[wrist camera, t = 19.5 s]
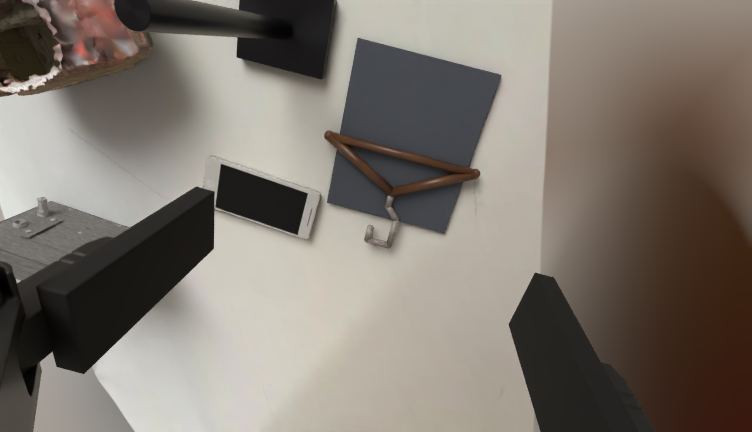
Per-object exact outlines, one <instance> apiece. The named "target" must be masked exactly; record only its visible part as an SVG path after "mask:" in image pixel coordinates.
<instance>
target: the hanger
mask: <svg viewBox="0 0 752 432" xmlns="http://www.w3.org/2000/svg"><path fill="white" fill-rule="evenodd" d="M324 137H325V139H326V140H327V141H328V142H329V143H330V144H332V145H333V146H334V147H335V148H336V149H337V150H338V151H339V152H340V153H342V154H343V155H344V156H345V157H346V158H347V159H348V160H349V161H350V162H352V163H353V164H354V165H355V166H356V167H357V168H358V169H359V170H360V171H361V172H363V173H364V174H365V175H366V176H367V177H368V178H369V179H370V180H371V181H373V182H374V183H375V184H376V185H377V186H378V187H379V188H380V189H381V190H383V191H384V192H385V193H386V194H387V195H388V196H387V200H386V204H385V208H386V210H387V211H388V213H389V215H390V216H391V218H392V219H393V222H392V226H391V229H390V233H389V236H388V240H387V242H386V241H382V240H378V239H375V238H371V236H372V232H373V226H372V225H369V226H368V227H367V231H366V235H365V239H364V240H365V242H366V243H370V244H374V245H378V246H382V247H385V248H391V247H392V244H393V241H394V237H395V234H396V230H397V227H398V224H399V217H398V216H397V214H396V212H395V211H394V209H393V208H392V202H393V198H394V197H396V196H400V195H405V194H409V193H414V192H418V191H423V190H428V189H432V188H437V187H441V186H446V185H450V184H455V183H459V182H464V181H468V180H473V179H477V178H479V176H480V171H479V170H478V169H471V168H467V167H464V166H460V165H456V164H452V163H448V162H445V161H441V160H437V159H433V158H429V157H425V156H422V155H418V154H414V153H410V152H406V151H402V150H399V149H395V148H391V147H387V146H383V145H380V144H376V143H372V142H368V141H364V140H360V139H357V138H353V137H349V136H345V135H341V134H337V133H334V132H332V131H326V132H325V134H324ZM348 145H350V146H354V147H357V148H361V149H365V150H369V151H373V152H377V153H380V154H384V155H388V156H392V157H396V158H399V159H403V160H407V161H411V162H415V163H419V164H422V165H426V166H430V167H434V168H438V169H441V170H445V171H449V172H453V173H454V174H450V175H445V176H441V177H436V178H432V179H427V180H423V181H419V182H414V183H410V184H405V185H401V186H397V187H392V186H391V185H390V184H389V183H388V182H387V181H386V180H385V179H384V178H383V177H381V176H380V175H379V174H378V173H377V172H376V171H375V170H374V169H373V168H372V167H371V166H369V165H368V164H367V163H366V162H365V161H364V160H363V159H362V158H361V157H360V156H358V155H357V154H356V153H355V152H354V151H353V150H352V149H351V148H350V147H349V146H348Z"/></svg>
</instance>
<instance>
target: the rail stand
mask: <svg viewBox="0 0 752 432" xmlns="http://www.w3.org/2000/svg"><path fill="white" fill-rule="evenodd" d="M336 2H337V0H240V2H239V10H237V9H232V8H227V7H222V6H217V5H212V4H207V3H202V2H198V1H193V0H114V7H115V11H116V14H117V16H118V18H119V20H120V21H121V22H122V24H123V25H124V26H126V27H127V28H128V29H130V30H132V31H136V32H153V33H171V34H189V35H207V36H225V37H238V40H237V58H241V59H245V60H249V61H253V62H257V63H260V64H264V65H268V66H272V67H276V68H280V69H284V70H287V71H291V72H295V73H299V74H303V75H307V76H311V77H314V78H318V79H324V78H325V72H326V66H327V59H328V53H329V47H330V40H331V34H332V27H333V21H334V15H335V8H336Z"/></svg>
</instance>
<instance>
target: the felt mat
mask: <svg viewBox="0 0 752 432" xmlns="http://www.w3.org/2000/svg"><path fill="white" fill-rule="evenodd" d="M500 78H501V75H499V74H495V73H492V72H488V71H484V70H480V69H476V68H472V67H468V66H464V65H461V64H457V63H453V62H449V61H445V60H441V59H437V58H433V57H430V56H426V55H422V54H418V53H414V52H410V51H406V50H402V49H399V48H395V47H391V46H387V45H383V44H379V43H375V42H371V41H368V40H364V39H360V38H358V39H357V45H356V50H355V56H354V61H353V66H352V72H351V77H350V82H349V88H348V93H347V98H346V104H345V109H344V115H343V120H342V125H341V131H340V134H341V135H345V136H349V137H353V138H357V139H360V140H364V141H368V142H372V143H376V144H380V145H383V146H387V147H391V148H395V149H399V150H402V151H406V152H410V153H414V154H418V155H422V156H425V157H429V158H433V159H437V160H441V161H445V162H448V163H452V164H456V165H460V166H464V167H467V168H468V166H469V164H470V161H471V158H472V155H473V153H474V150H475V147H476V144H477V142H478V139H479V136H480V133H481V131H482V128H483V125H484V122H485V119H486V117H487V114H488V111H489V108H490V106H491V103H492V100H493V97H494V95H495V92H496V89H497V86H498V83H499V81H500ZM348 146H349V147H350V148H351V149H352V150H353V151H354V152H355V153H356V154H357V155H358V156H360V157H361V158H362V159H363V160H364V161H365V162H366V163H367V164H368V165H369V166H371V167H372V168H373V169H374V170H375V171H376V172H377V173H378V174H379V175H380V176H381V177H383V178H384V179H385V180H386V181H387V182H388V183H389V184H390V185H391V186H392V187H397V186H401V185H405V184H410V183H414V182H419V181H423V180H427V179H432V178H436V177H441V176H445V175H450V174H454V173H453V172H449V171H445V170H441V169H438V168H434V167H430V166H426V165H422V164H419V163H415V162H411V161H407V160H403V159H399V158H396V157H392V156H388V155H384V154H380V153H377V152H373V151H369V150H365V149H361V148H357V147H354V146H350V145H348ZM462 183H463V182H459V183H455V184H450V185H446V186H441V187H437V188H432V189H428V190H423V191H418V192H414V193H409V194H405V195H400V196H396V197H394V198H393V202H392V208H393V209H394V211H395V212H396V214H397V216H398V217H399V221H400V222H403V223H407V224H411V225H415V226H419V227H423V228H426V229H430V230H434V231H438V232H442V233H445V230H446V227H447V225H448V222H449V219H450V216H451V213H452V211H453V208H454V205H455V202H456V200H457V197H458V194H459V191H460V189H461V186H462ZM387 196H388V195H387V194H386V193H385V192H384V191H383V190H381V189H380V188H379V187H378V186H377V185H376V184H375V183H374V182H373V181H371V180H370V179H369V178H368V177H367V176H366V175H365V174H364V173H363V172H361V171H360V170H359V169H358V168H357V167H356V166H355V165H354V164H353V163H352V162H350V161H349V160H348V159H347V158H346V157H345V156H344V155H343V154H342V153H340V152H339V151H338V150H337V152H336V157H335V163H334V168H333V174H332V179H331V184H330V190H329V195H328V200H327V203H331V204H335V205H339V206H342V207H346V208H350V209H354V210H358V211H362V212H365V213H369V214H373V215H377V216H381V217H384V218H388V219H392V218H391V216H390V215H389V213H388V211H387V210H386V208H385V204H386V200H387ZM392 220H393V219H392Z"/></svg>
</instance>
